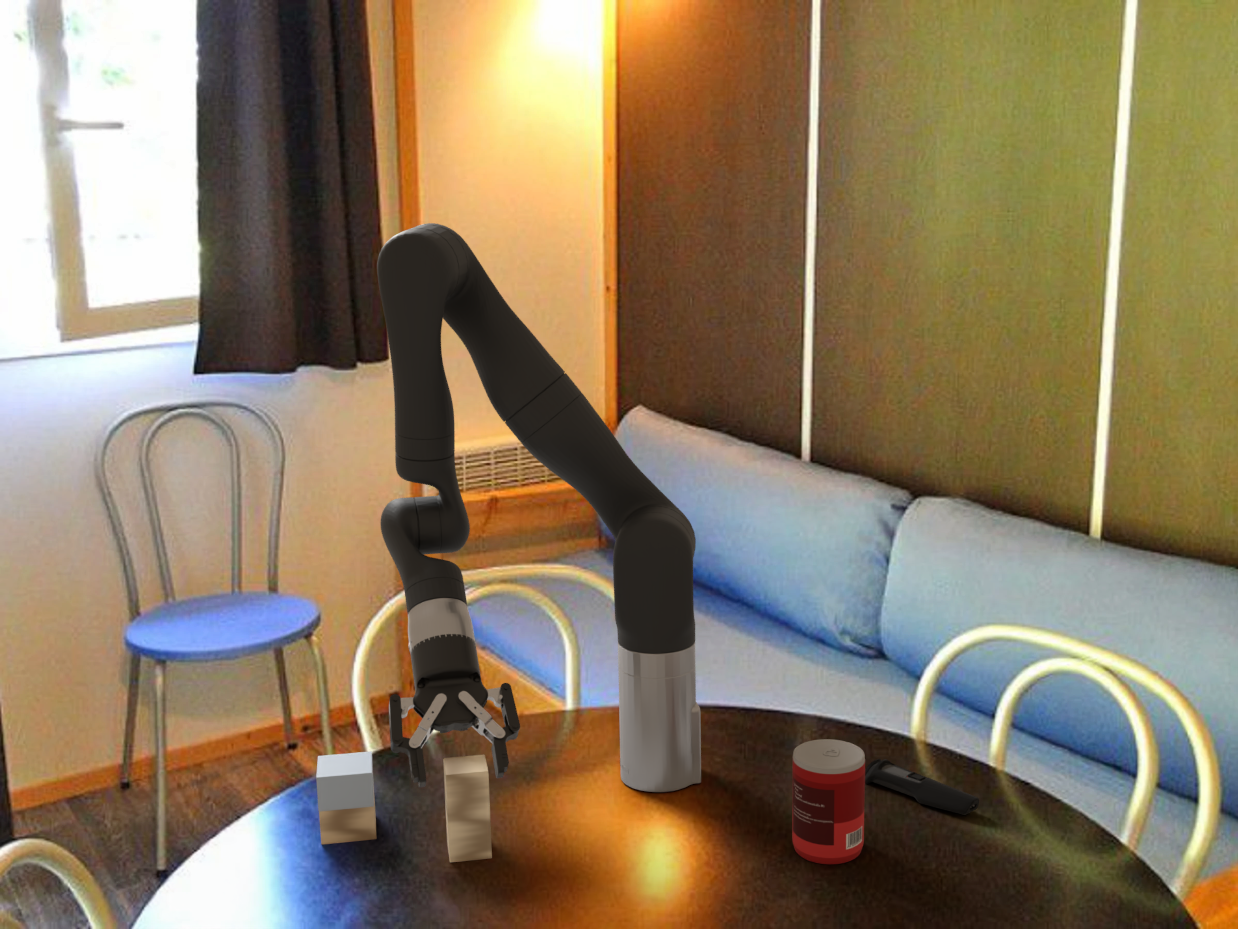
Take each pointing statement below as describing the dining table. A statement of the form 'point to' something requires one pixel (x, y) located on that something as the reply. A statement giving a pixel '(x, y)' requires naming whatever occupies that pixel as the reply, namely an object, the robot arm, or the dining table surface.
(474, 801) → the maple block
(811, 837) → the canned food
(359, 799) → the tower mid
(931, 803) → the electric trimmer
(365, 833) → the tower base
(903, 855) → the dining table surface
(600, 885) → the dining table surface
